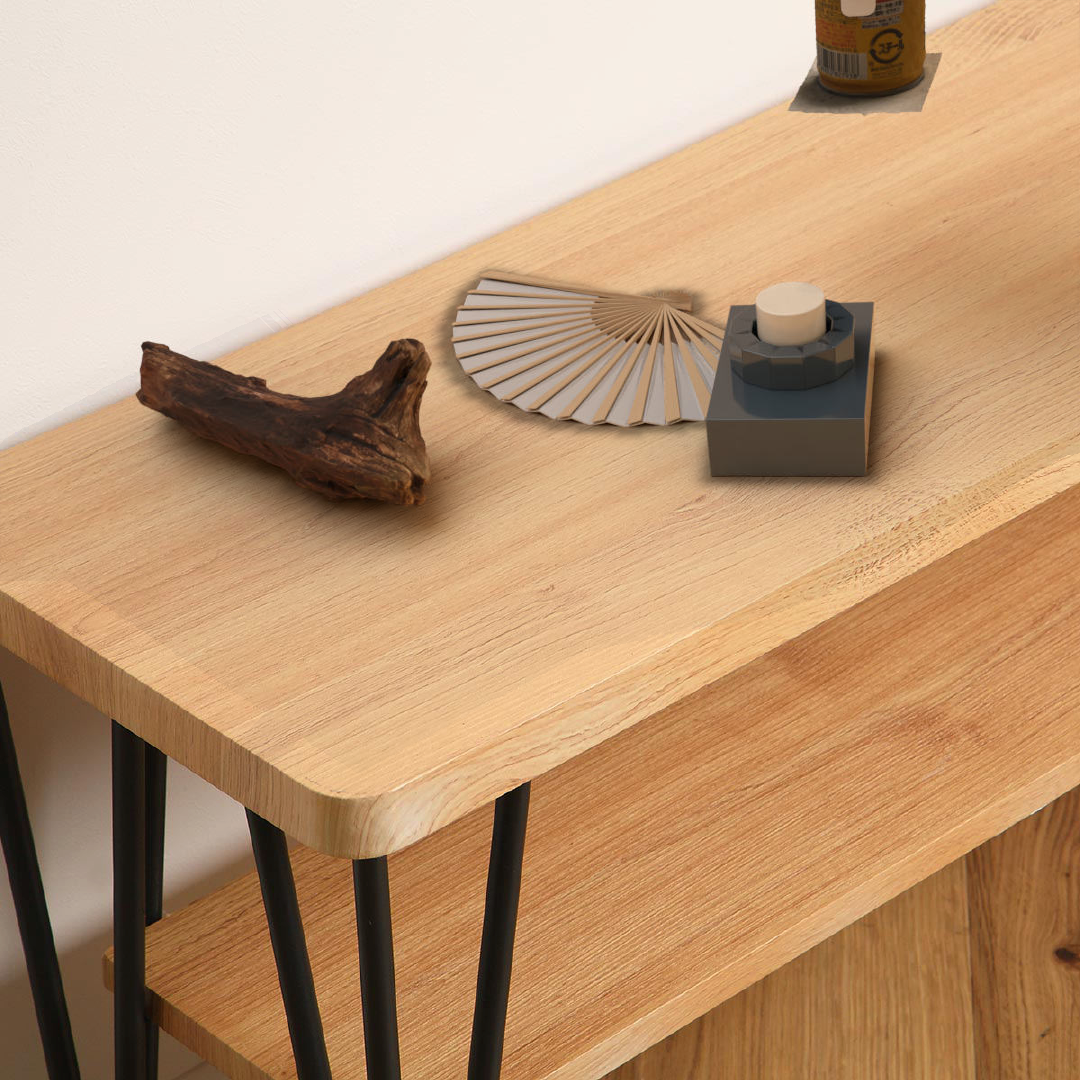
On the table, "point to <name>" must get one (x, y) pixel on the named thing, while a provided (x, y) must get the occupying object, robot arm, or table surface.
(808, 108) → the condiment
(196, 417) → the driftwood
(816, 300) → the cream cylinder plug
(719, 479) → the table surface
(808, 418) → the grey socket base
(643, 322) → the hand fan
